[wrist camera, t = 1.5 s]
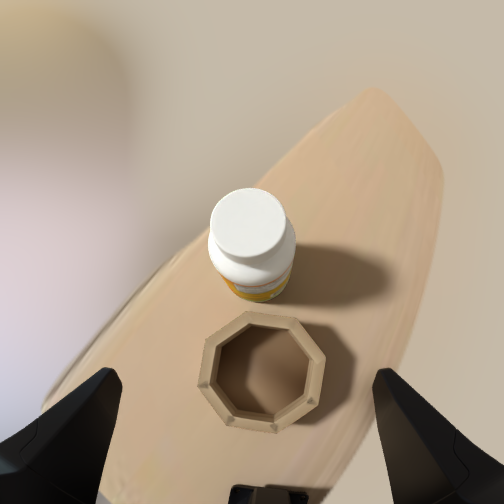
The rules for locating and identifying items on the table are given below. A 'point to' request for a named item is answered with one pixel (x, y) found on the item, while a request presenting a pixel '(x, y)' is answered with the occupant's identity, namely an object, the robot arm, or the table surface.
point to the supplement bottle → (252, 244)
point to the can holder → (261, 372)
